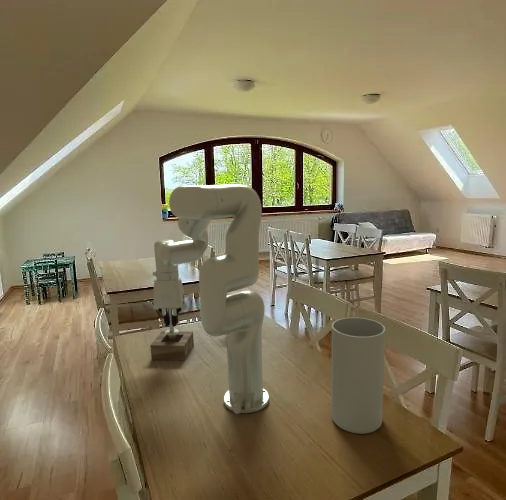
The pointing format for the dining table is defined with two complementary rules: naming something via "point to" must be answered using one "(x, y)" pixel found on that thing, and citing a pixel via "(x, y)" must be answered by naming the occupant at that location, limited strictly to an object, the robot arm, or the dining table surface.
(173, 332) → the screw
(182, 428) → the dining table surface
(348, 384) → the cylinder vase
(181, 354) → the socket block
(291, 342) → the dining table surface
